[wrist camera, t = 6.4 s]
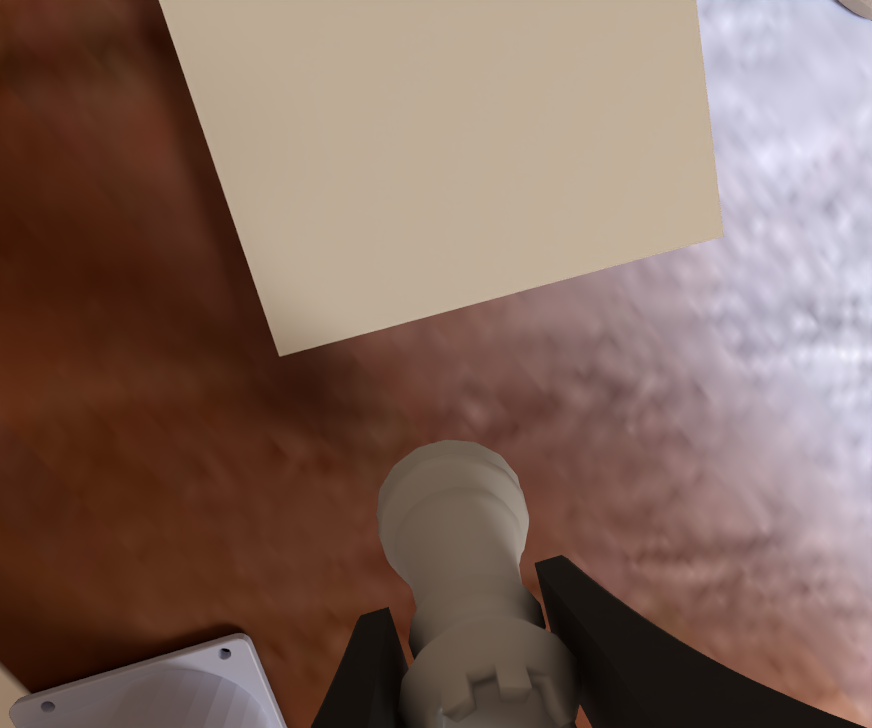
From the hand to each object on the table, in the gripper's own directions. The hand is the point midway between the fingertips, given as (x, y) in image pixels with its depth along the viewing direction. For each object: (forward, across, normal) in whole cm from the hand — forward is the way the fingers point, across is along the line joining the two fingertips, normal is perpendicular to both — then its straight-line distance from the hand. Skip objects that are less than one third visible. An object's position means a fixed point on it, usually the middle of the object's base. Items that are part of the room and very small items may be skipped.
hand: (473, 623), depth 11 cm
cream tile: (+9, -4, -11) cm, 15 cm away
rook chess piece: (+5, 0, 0) cm, 5 cm away
